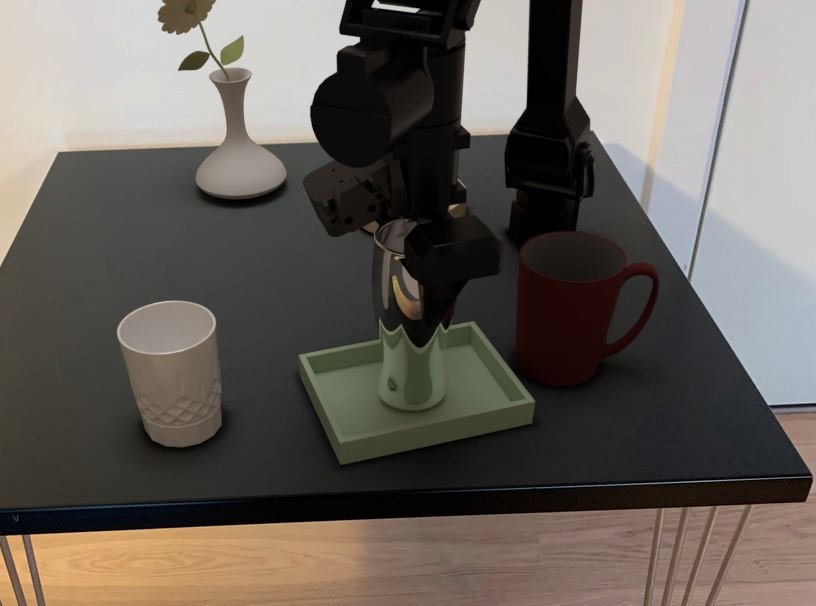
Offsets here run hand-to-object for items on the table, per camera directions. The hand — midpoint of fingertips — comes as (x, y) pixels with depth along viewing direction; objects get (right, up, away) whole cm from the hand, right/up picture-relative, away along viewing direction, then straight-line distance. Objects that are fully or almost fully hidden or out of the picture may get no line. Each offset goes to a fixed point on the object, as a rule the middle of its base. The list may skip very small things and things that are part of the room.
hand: (415, 305), depth 74 cm
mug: (+15, -4, +10) cm, 19 cm away
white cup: (-20, -10, +5) cm, 23 cm away
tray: (0, -7, +6) cm, 10 cm away
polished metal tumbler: (0, -7, +6) cm, 9 cm away
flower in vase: (-19, +22, +40) cm, 49 cm away
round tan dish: (+2, +17, +33) cm, 37 cm away
